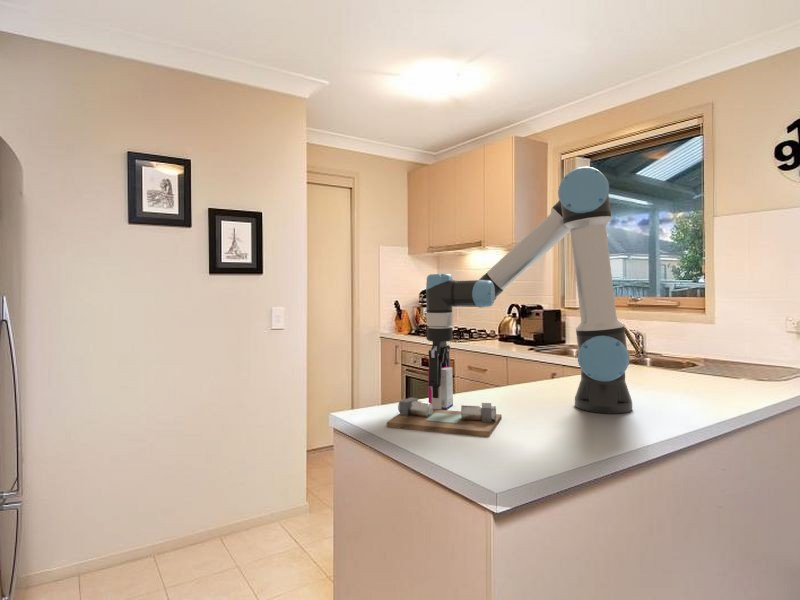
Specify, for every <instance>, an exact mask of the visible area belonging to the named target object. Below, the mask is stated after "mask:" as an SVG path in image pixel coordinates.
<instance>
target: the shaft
mask: <svg viewBox="0 0 800 600" xmlns="http://www.w3.org/2000/svg"><path fill="white" fill-rule="evenodd" d="M397 409H398V412H399V414H400V416H406V417H408V416H411V415H418V416H424V417H430V416H431V415H432V412H433V406H432V404H431V403H429V402H424V401H419V399H418V398H417V397H408V398H405V399H400V400H399V402H398V405H397Z"/></svg>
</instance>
